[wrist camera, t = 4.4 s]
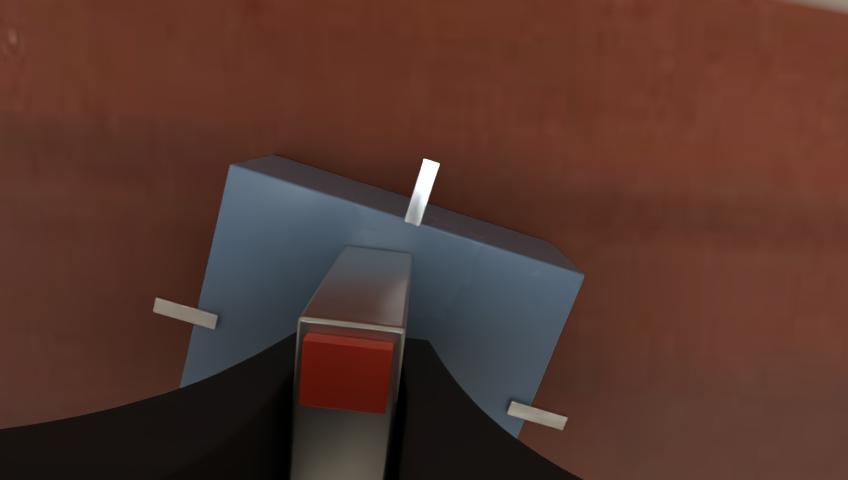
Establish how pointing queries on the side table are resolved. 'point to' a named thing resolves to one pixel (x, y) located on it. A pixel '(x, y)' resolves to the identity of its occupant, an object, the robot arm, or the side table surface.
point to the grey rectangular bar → (350, 368)
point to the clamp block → (429, 288)
